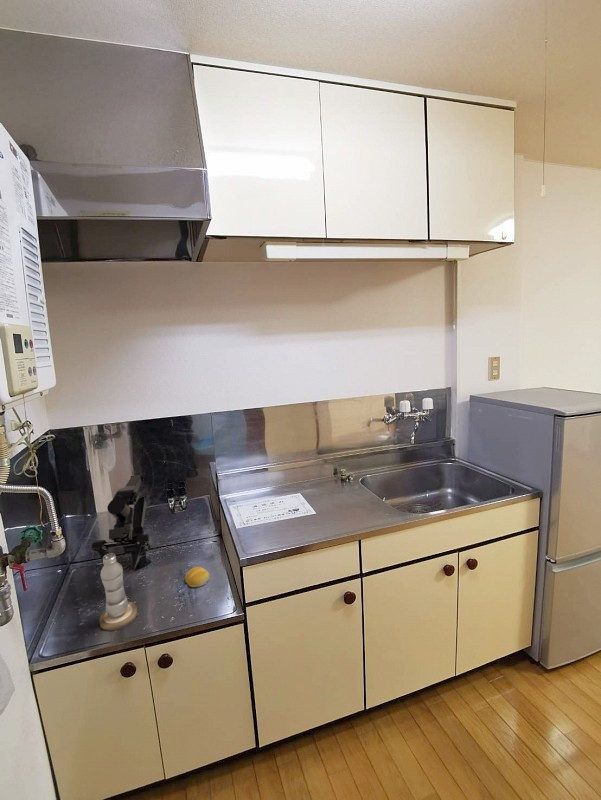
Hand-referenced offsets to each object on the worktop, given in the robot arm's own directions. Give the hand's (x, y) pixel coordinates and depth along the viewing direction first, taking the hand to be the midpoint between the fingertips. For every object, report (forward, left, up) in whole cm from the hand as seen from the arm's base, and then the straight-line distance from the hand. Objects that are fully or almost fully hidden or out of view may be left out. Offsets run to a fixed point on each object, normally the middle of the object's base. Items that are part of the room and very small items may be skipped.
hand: (120, 569), depth 132 cm
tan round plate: (+6, -5, -12) cm, 14 cm away
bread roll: (+11, +22, -12) cm, 27 cm away
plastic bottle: (+6, -5, -11) cm, 13 cm away
